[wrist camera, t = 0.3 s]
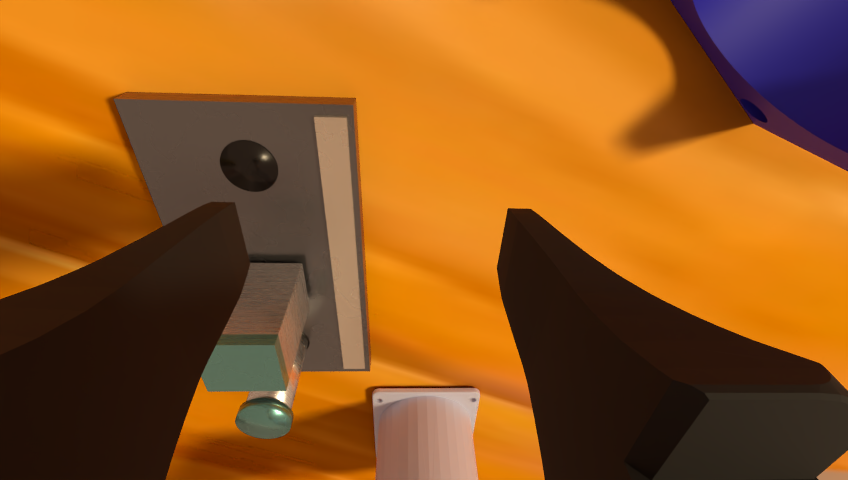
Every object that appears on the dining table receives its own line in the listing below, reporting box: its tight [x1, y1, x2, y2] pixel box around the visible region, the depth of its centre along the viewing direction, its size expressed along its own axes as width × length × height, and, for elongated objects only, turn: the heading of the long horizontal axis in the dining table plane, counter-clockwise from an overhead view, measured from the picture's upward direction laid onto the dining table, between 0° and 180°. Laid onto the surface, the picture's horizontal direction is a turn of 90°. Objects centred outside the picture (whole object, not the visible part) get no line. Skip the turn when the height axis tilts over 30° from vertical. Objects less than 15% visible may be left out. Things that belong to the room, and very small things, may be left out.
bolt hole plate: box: [114, 92, 371, 371], centre depth 23 cm, size 18×10×1 cm, turn 178°
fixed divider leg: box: [235, 334, 308, 439], centre depth 24 cm, size 3×3×6 cm
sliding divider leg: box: [201, 263, 309, 391], centre depth 21 cm, size 3×4×6 cm
